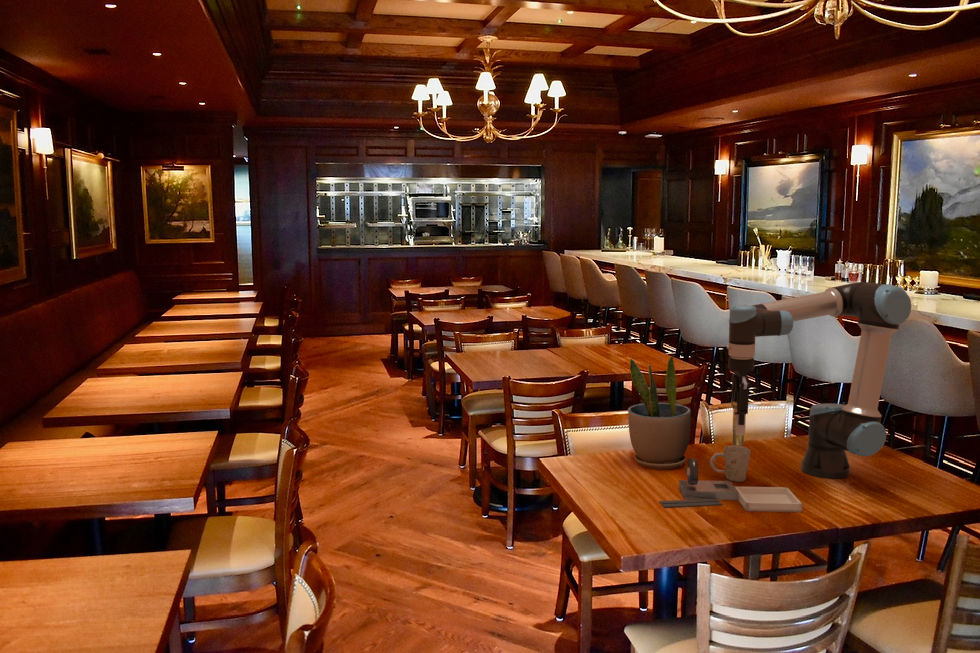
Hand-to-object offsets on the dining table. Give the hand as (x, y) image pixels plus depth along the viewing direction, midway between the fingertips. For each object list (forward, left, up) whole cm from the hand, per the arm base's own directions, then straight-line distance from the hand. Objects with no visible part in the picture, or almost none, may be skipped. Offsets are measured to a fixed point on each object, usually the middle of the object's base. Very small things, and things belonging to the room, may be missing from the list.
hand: (738, 432), depth 241 cm
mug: (-2, -17, -20) cm, 27 cm away
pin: (0, 0, -4) cm, 4 cm away
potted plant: (+19, -32, -20) cm, 43 cm away
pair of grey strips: (+15, +7, -20) cm, 26 cm away
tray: (-8, +5, -20) cm, 22 cm away
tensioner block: (+8, -2, -20) cm, 22 cm away
